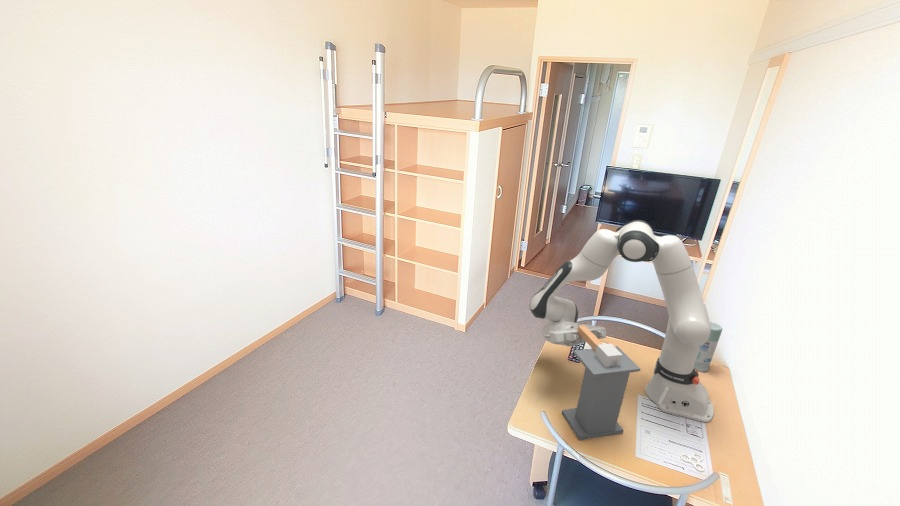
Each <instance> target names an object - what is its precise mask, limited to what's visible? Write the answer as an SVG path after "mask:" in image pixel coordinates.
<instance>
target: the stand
mask: <svg viewBox="0 0 900 506" xmlns="http://www.w3.org/2000/svg"><path fill="white" fill-rule="evenodd" d="M613 346H614V347H615V348H616V349H617V350H618V351H619V352H620V353H621V354H622V359H621V363H620V366H612V367H605V366H604V365H603V364H602V363H601V362H600V361H599V359H598V358H597V357H596V356H595V353H596V352H595V351H594V350H593V349H592V348H585V349H576V350H573V352H572V353H573V354H574V356H575V357H576V358H577V359H578V361H579V362H580V363H581V364H582V366H583V367H584V371H583V377H582V382H581V386H580V392H579V396H578V401H577V404H576V405H577V406H576V407H575V408H566V409H562V410H561V415H562V417H563V418H564V420H565V421H566V423H567V425H568V426H569V427H570V429H571V430H572V432H573V434H574V435H575V437H576V438H577V440H578V441H584V440H585V441H586V440H590V439H599V438H603V437H604V438H605V437H611V436H615V435H622V434H624V428H623V427H622V426H621V425H620V424H619V422H618V419H619V416H620V412H621V409H622V404H623V400H624V396H625V393H626V389H627V385H628V382H629V377H630V374H631V373H637V372H639V373H640V372H641V367H640V366H638V365H637V363H635V362H634V361H633V360H632V359H631V358H630V356H628V355H627V353H626V352H625V351H623V350H622V349H621V348H620V347H619V346H618V345H613Z"/></svg>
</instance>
